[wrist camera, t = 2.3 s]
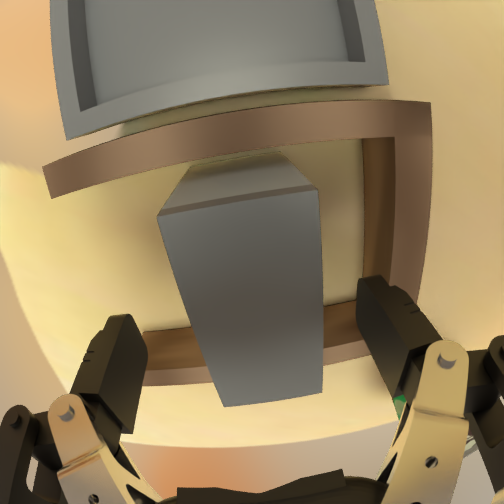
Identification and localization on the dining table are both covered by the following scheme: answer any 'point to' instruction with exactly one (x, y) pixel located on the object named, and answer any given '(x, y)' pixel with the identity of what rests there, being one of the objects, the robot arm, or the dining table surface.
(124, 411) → the robot arm
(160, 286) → the dining table surface
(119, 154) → the walnut bay
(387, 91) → the dining table surface
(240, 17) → the charcoal tray
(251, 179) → the grey rectangular prism
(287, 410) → the dining table surface
